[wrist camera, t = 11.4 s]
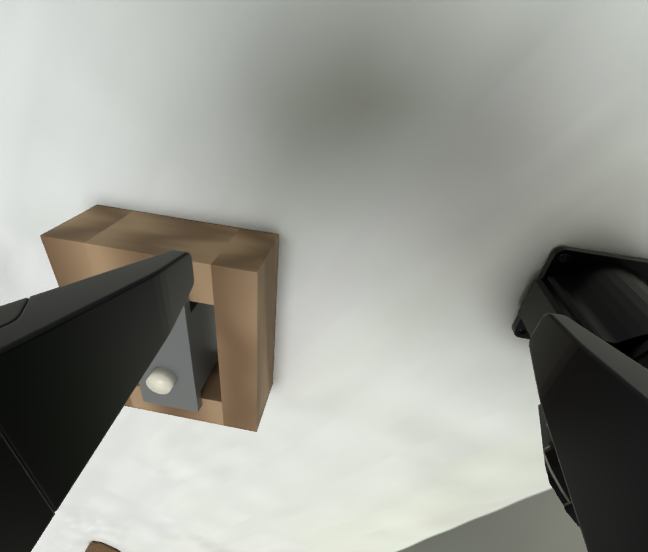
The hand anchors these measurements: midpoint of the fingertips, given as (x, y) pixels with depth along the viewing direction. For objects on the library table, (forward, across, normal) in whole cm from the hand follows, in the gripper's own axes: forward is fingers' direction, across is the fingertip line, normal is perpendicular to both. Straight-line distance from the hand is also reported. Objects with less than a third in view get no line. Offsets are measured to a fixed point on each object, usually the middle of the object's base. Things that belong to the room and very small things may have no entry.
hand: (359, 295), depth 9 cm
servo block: (+12, +11, +12) cm, 20 cm away
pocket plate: (+12, +11, +12) cm, 20 cm away
